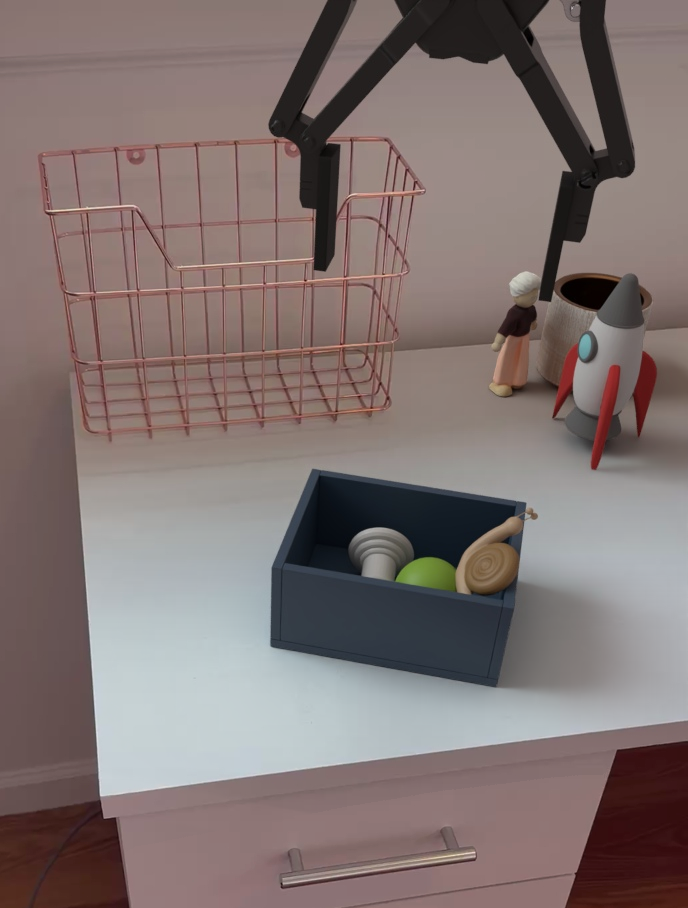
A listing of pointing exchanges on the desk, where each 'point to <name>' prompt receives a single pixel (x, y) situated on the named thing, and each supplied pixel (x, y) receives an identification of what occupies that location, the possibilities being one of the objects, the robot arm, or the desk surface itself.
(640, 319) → the toy
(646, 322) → the planter
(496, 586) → the snail figurine
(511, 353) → the grandmother figurine
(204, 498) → the desk surface
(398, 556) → the chess piece
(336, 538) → the tote
